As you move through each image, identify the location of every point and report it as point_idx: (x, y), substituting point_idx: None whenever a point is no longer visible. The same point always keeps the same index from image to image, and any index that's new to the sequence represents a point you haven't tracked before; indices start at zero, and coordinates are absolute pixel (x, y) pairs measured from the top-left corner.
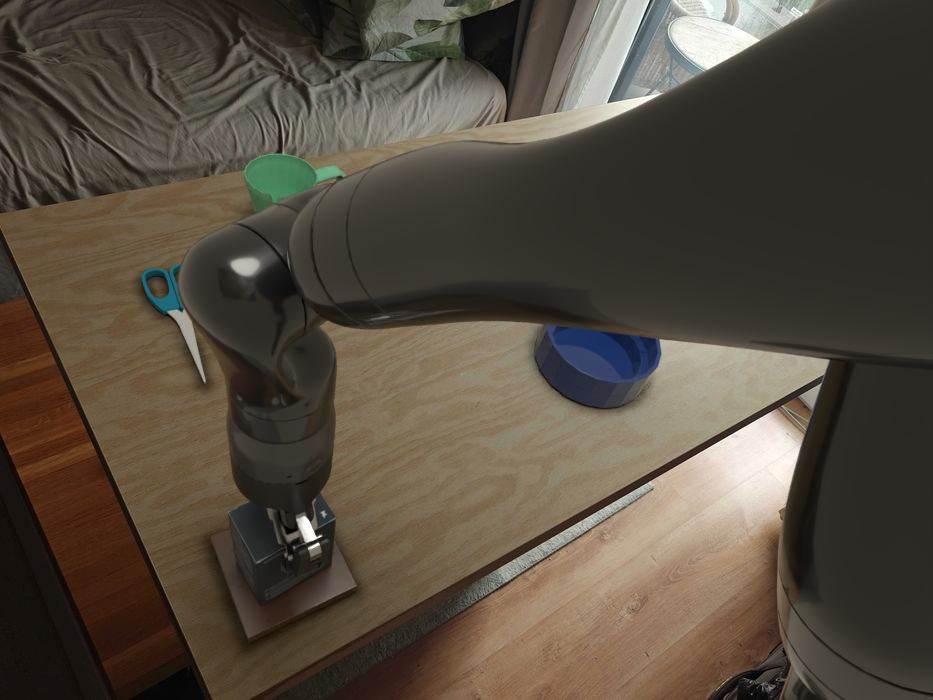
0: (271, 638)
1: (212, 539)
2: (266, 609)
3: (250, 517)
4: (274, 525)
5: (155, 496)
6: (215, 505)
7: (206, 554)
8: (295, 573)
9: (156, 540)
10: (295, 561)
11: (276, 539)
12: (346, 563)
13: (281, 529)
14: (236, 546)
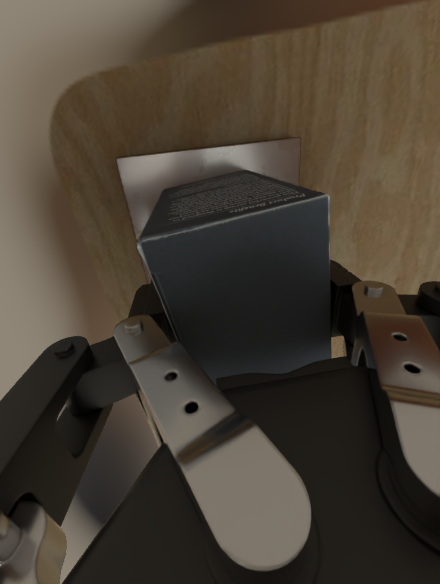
0: (121, 192)
1: (294, 139)
2: (154, 197)
3: (282, 255)
4: (162, 428)
5: (412, 58)
6: (345, 158)
7: (277, 125)
8: (52, 354)
9: (337, 39)
10: (3, 436)
11: (193, 306)
12: None
13: (153, 418)
14: (248, 182)
